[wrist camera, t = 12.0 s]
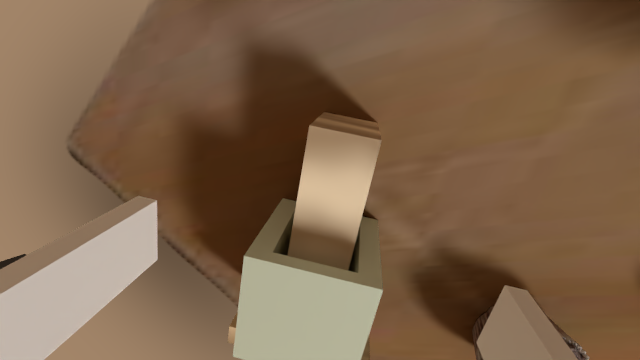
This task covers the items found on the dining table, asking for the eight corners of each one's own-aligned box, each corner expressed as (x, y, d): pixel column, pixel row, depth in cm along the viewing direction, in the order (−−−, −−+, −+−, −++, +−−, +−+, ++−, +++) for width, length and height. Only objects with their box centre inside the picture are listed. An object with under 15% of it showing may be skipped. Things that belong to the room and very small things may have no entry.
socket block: (282, 198, 32) (244, 255, 22) (377, 219, 31) (383, 290, 21) (271, 275, 35) (232, 356, 25) (355, 296, 34) (351, 388, 24)
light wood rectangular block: (324, 111, 28) (309, 125, 21) (377, 122, 28) (381, 140, 20) (298, 254, 34) (278, 306, 26) (342, 265, 33) (335, 320, 26)
